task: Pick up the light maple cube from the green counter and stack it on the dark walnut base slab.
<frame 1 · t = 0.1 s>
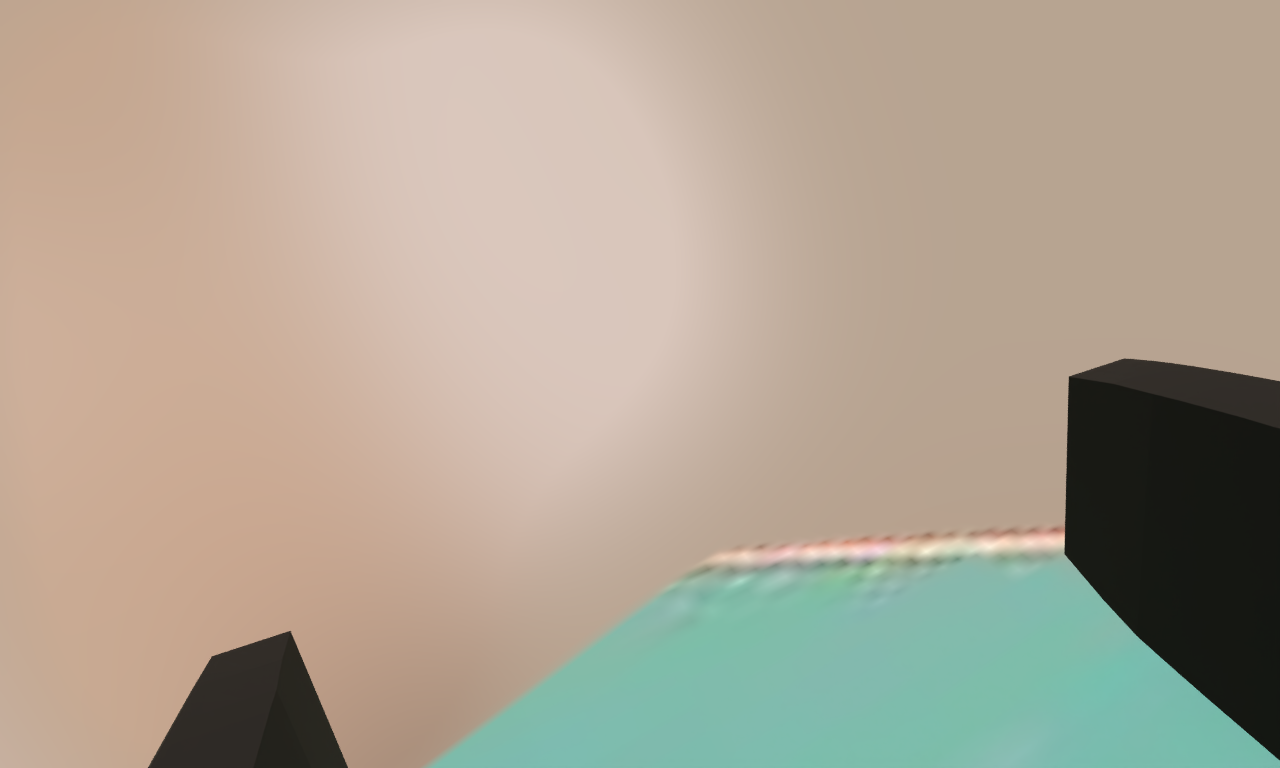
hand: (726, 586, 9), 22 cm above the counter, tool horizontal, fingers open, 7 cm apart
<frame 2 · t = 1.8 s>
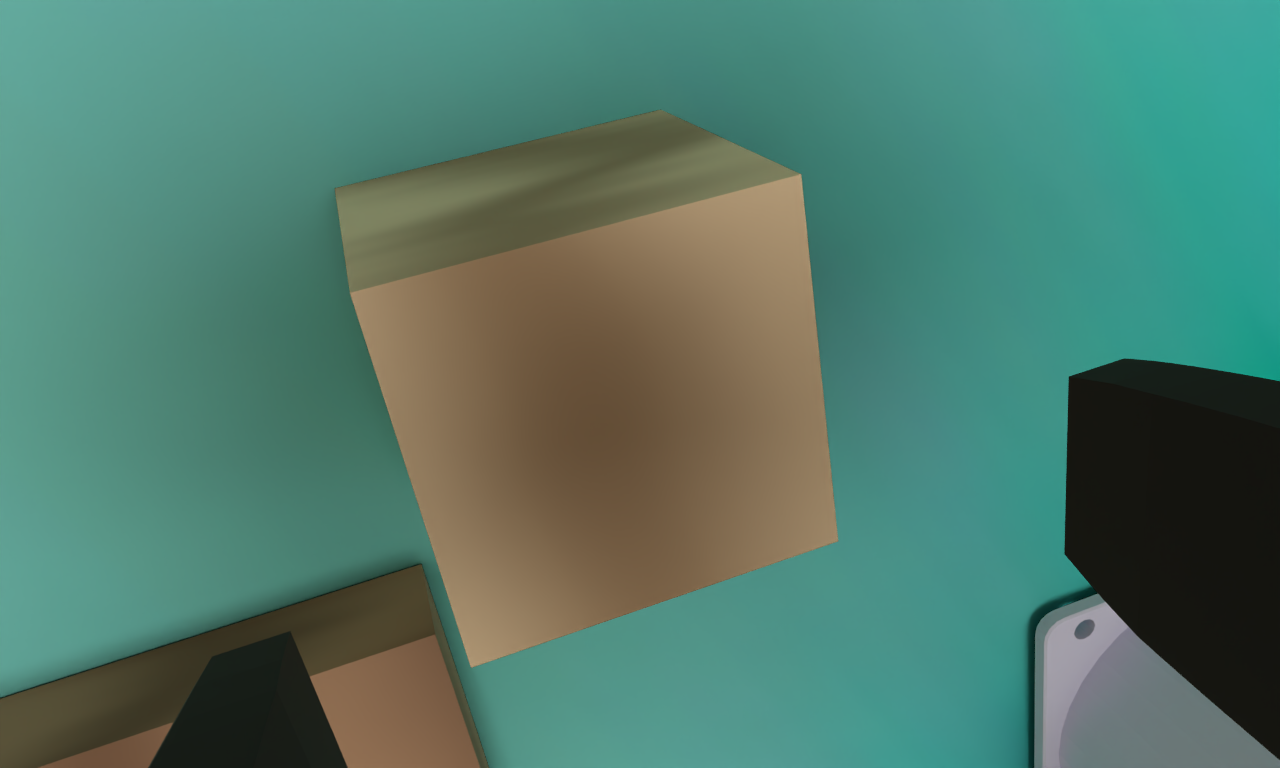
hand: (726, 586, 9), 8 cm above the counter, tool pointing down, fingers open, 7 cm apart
maple cube: (538, 300, 16), on the counter
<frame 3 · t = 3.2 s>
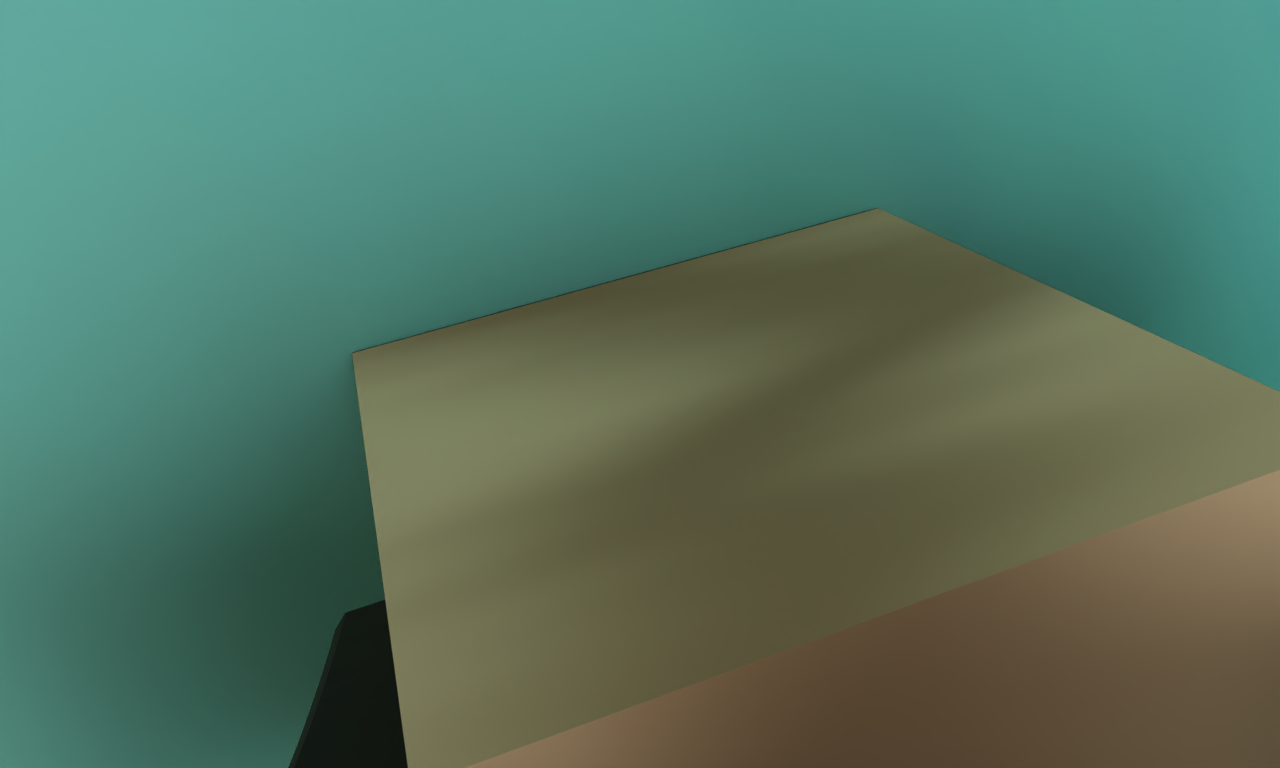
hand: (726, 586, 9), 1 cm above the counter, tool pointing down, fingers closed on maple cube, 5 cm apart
maple cube: (672, 506, 10), on the counter, touching gripper
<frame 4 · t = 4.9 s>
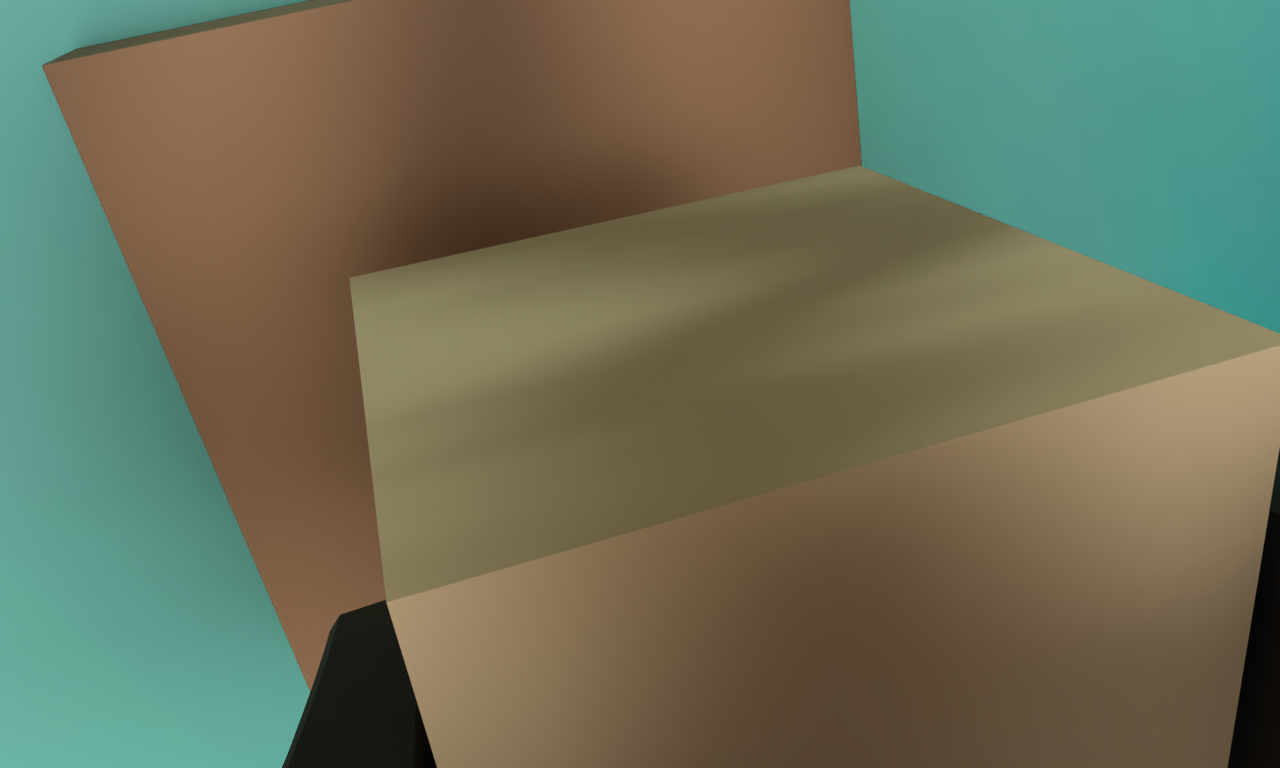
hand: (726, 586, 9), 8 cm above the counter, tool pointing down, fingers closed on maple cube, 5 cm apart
maple cube: (653, 449, 10), point 6 cm above the counter, touching gripper
walnut base: (530, 299, 16), on the counter
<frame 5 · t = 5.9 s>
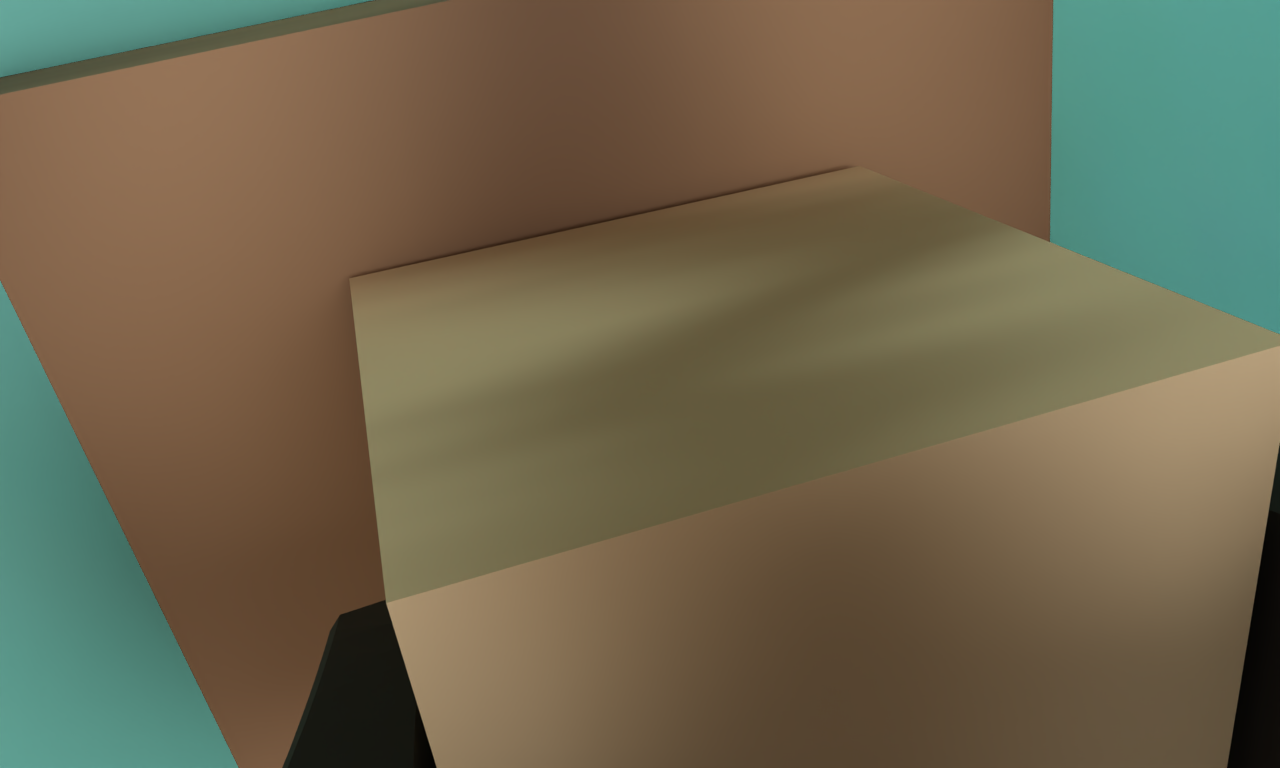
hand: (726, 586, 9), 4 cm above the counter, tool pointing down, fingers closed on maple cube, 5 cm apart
maple cube: (653, 449, 10), point 2 cm above the counter, touching gripper
walnut base: (599, 397, 13), on the counter
when the fingers open (4 cm above the counter, at t = 6.6 s): maple cube stays where it is, resting on walnut base.
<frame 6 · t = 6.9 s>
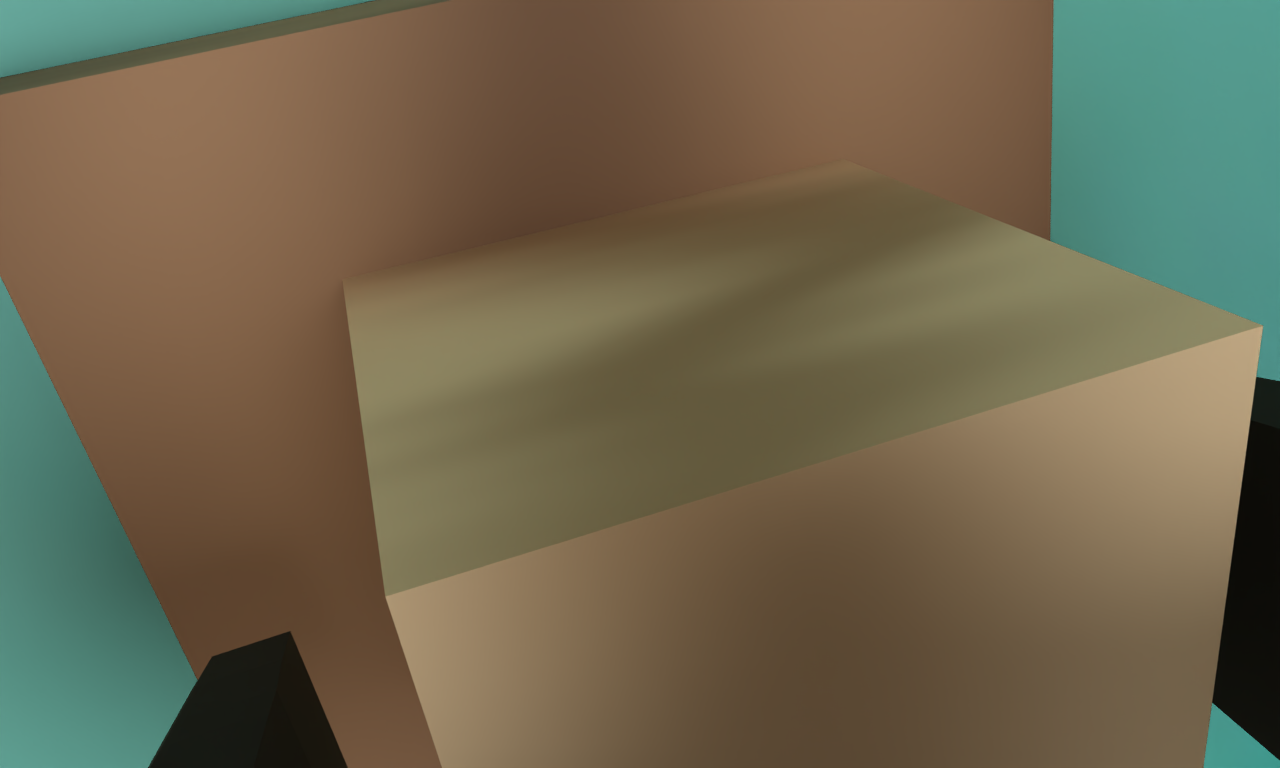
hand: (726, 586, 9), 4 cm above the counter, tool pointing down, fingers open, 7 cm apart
maple cube: (645, 442, 11), point 2 cm above the counter, touching walnut base
walnut base: (600, 397, 13), on the counter
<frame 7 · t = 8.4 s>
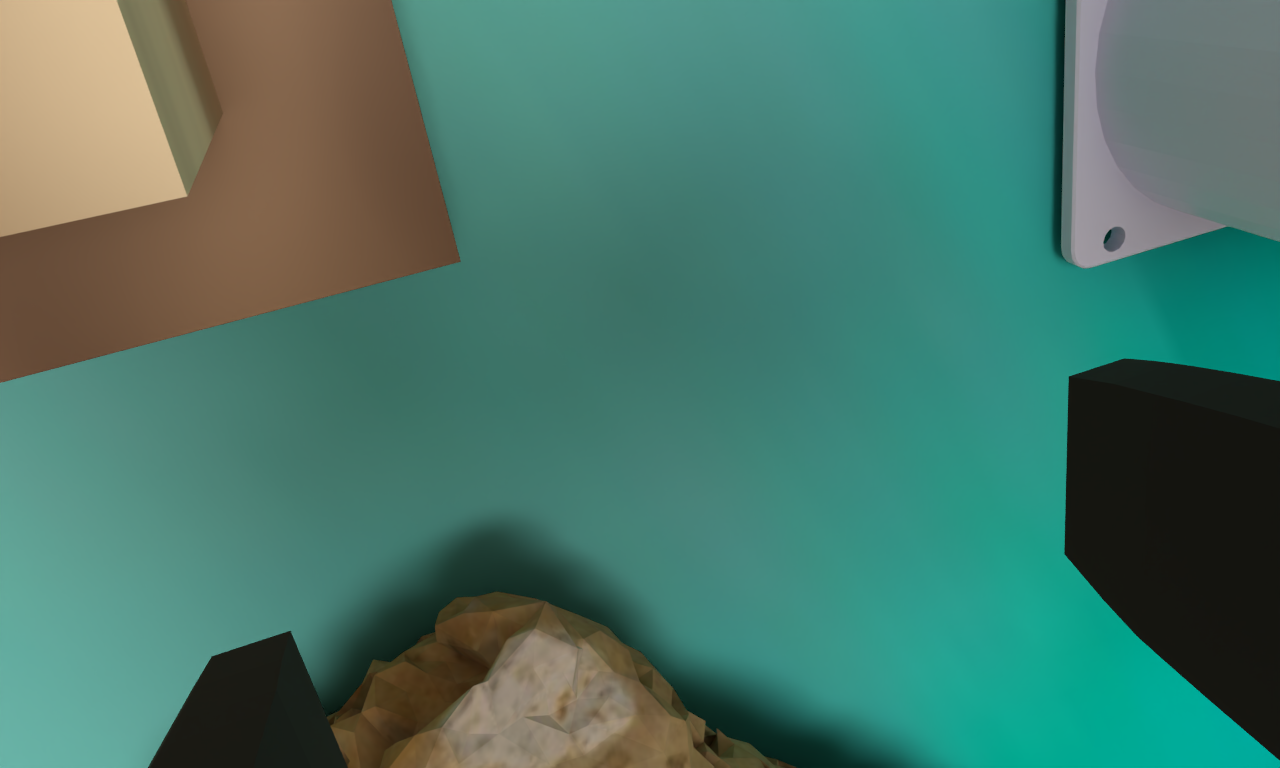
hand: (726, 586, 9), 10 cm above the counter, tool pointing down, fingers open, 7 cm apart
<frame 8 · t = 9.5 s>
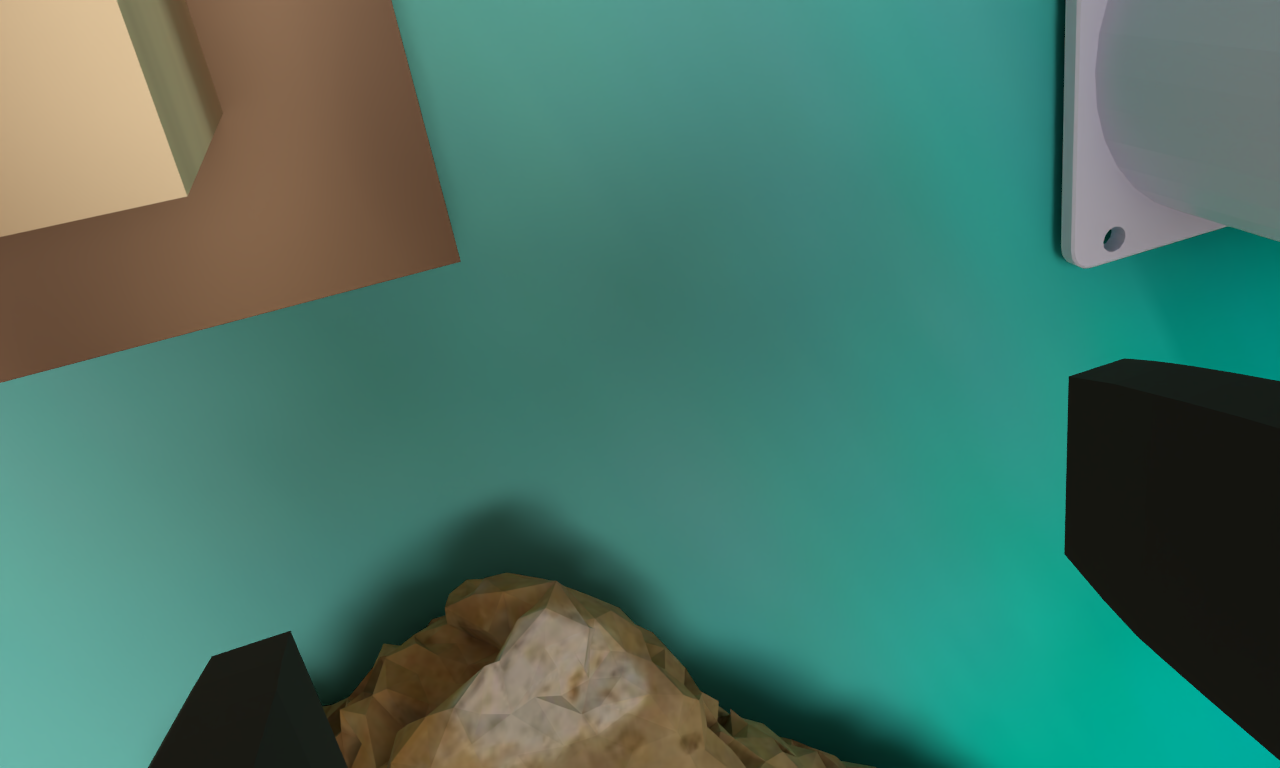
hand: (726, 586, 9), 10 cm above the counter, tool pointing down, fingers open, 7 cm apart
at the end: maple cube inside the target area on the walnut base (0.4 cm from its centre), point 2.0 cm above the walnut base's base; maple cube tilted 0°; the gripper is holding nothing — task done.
